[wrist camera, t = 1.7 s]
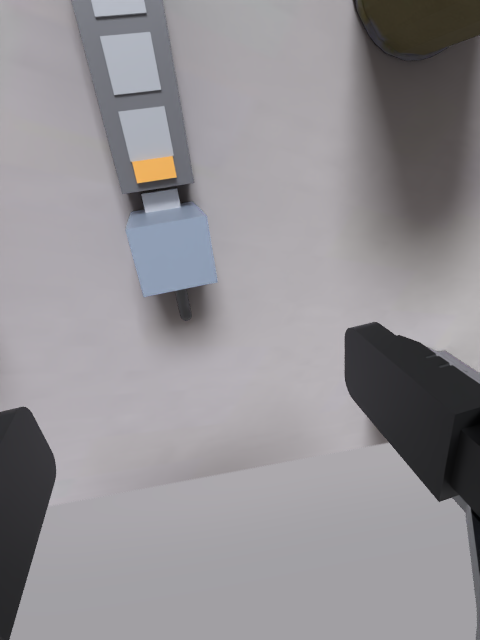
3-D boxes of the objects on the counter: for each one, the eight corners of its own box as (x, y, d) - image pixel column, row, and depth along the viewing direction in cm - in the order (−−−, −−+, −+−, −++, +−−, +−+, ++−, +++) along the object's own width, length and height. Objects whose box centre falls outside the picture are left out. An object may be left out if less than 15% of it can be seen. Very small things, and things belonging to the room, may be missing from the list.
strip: (148, -44, 20) (148, -86, 17) (188, 179, 25) (195, 183, 22) (66, -40, 19) (48, -82, 16) (125, 189, 25) (121, 194, 21)
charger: (189, 184, 25) (203, 193, 19) (212, 309, 30) (228, 349, 24) (126, 194, 25) (119, 206, 19) (159, 320, 29) (162, 364, 23)
